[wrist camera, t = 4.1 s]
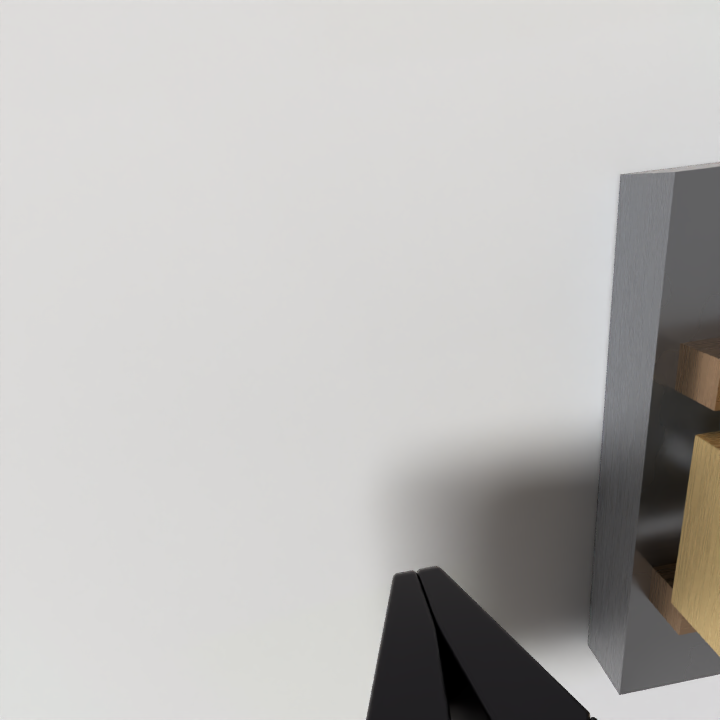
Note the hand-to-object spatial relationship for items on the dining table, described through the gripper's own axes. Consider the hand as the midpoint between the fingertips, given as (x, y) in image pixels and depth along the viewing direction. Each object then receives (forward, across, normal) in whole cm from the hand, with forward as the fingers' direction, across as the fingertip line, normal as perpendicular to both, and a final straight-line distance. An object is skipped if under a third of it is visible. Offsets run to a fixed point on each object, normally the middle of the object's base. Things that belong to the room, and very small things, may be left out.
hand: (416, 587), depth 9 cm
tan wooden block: (+1, -7, 0) cm, 7 cm away
